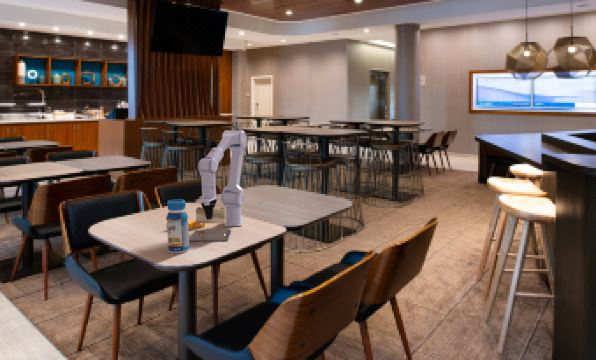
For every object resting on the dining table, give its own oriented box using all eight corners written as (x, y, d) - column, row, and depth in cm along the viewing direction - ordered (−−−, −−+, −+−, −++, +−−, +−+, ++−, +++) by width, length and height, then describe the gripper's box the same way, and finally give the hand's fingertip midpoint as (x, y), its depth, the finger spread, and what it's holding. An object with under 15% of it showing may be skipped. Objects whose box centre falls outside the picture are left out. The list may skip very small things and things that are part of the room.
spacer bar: (197, 220, 193) (197, 206, 192) (225, 220, 194) (225, 206, 193) (196, 223, 189) (195, 208, 188) (224, 223, 190) (224, 208, 189)
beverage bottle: (193, 251, 175) (190, 201, 171) (172, 255, 170) (169, 204, 166) (185, 245, 181) (182, 197, 178) (164, 249, 177) (161, 200, 173)
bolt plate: (195, 231, 199) (195, 230, 199) (231, 231, 200) (231, 229, 200) (189, 241, 185) (189, 240, 185) (227, 241, 186) (227, 239, 186)
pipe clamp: (177, 229, 203) (176, 215, 202) (179, 226, 208) (178, 213, 206) (204, 228, 205) (203, 214, 203) (205, 225, 209) (204, 212, 208)
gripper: (202, 183, 196) (203, 213, 198) (196, 190, 181) (197, 222, 184) (218, 183, 196) (219, 213, 198) (213, 190, 182) (214, 222, 184)
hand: (210, 217), depth 191 cm, fingers closed on spacer bar, 4 cm apart
